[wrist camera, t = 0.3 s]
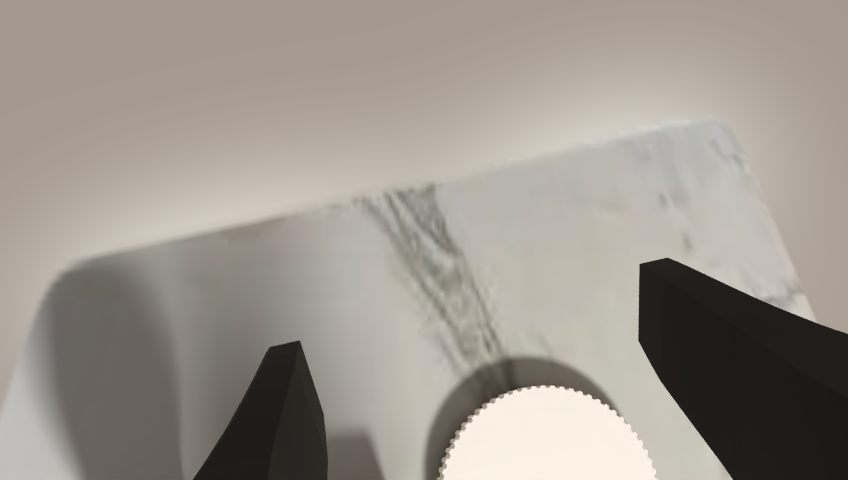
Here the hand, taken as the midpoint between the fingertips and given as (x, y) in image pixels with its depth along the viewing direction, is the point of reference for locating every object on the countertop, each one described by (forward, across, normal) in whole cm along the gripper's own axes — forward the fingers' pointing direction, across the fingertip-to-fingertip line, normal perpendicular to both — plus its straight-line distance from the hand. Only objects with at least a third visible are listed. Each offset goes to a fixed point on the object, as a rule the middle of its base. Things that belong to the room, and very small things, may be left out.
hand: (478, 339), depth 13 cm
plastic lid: (+16, -5, +27) cm, 32 cm away
